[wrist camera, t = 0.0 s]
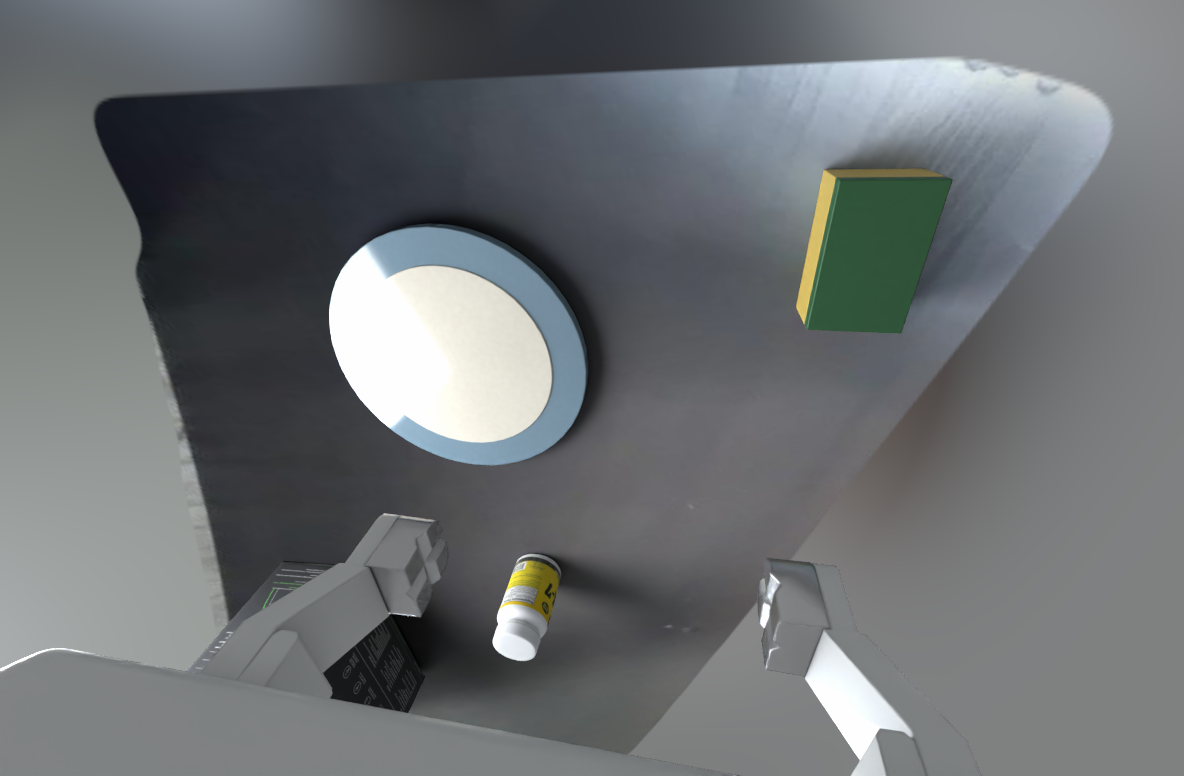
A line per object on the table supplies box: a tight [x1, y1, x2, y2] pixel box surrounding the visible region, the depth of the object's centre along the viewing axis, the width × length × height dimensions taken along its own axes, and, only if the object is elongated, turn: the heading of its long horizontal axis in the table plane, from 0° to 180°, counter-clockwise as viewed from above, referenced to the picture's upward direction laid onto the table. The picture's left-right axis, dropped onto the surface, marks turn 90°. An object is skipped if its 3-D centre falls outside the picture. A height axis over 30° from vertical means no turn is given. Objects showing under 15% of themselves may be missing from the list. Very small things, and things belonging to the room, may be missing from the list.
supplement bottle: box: [493, 554, 561, 661], centre depth 46 cm, size 5×5×8 cm
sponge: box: [796, 168, 952, 333], centre depth 27 cm, size 8×5×3 cm, turn 3°
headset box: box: [186, 562, 425, 713], centre depth 50 cm, size 22×12×26 cm, turn 9°
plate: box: [329, 223, 588, 465], centre depth 37 cm, size 20×20×1 cm
